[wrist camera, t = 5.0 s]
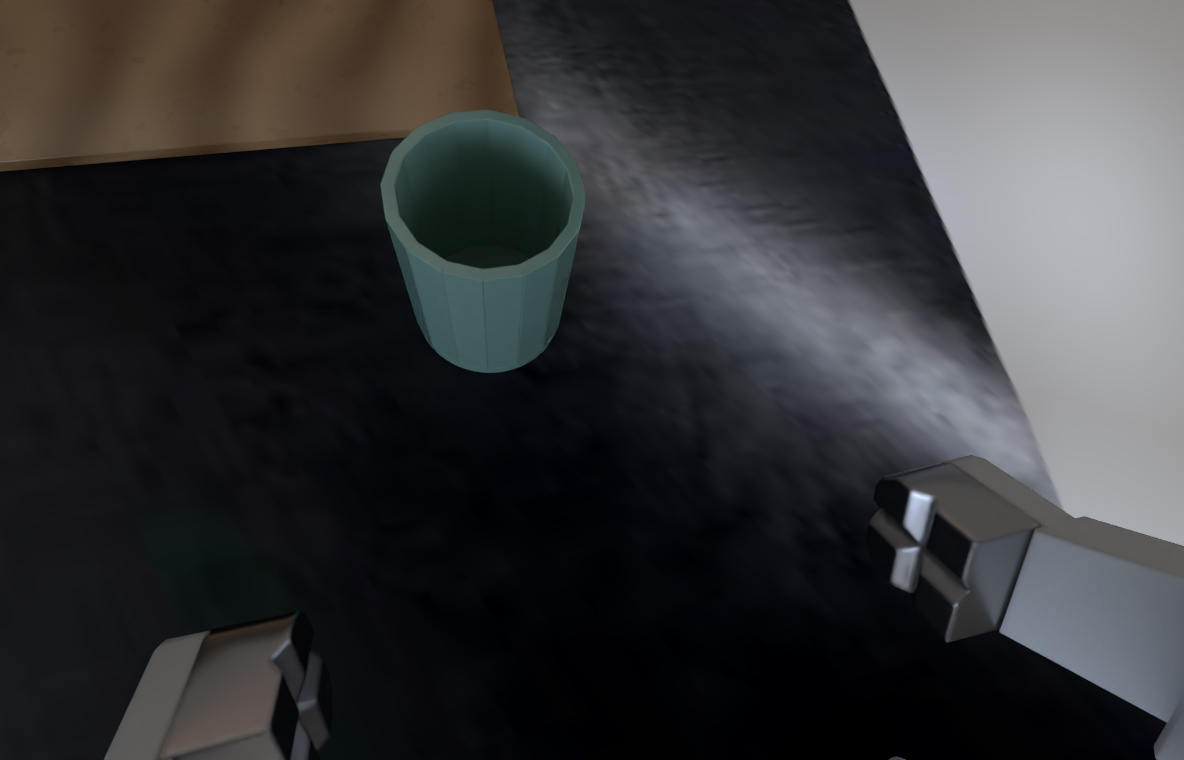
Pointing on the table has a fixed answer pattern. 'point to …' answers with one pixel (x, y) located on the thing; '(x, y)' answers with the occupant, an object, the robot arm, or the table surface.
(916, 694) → the table surface
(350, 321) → the table surface
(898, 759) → the coffee box
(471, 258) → the tumbler
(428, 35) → the wooden board
